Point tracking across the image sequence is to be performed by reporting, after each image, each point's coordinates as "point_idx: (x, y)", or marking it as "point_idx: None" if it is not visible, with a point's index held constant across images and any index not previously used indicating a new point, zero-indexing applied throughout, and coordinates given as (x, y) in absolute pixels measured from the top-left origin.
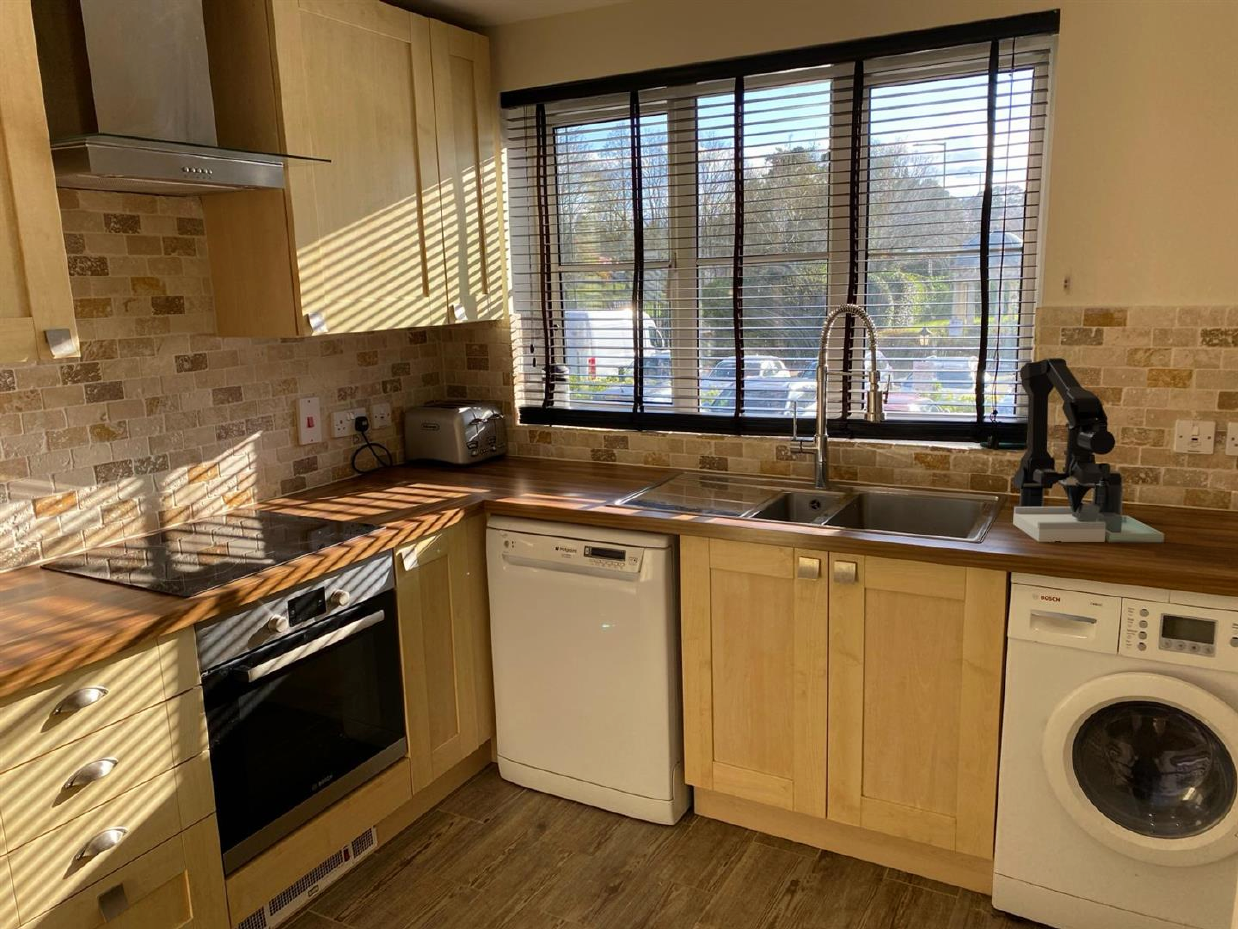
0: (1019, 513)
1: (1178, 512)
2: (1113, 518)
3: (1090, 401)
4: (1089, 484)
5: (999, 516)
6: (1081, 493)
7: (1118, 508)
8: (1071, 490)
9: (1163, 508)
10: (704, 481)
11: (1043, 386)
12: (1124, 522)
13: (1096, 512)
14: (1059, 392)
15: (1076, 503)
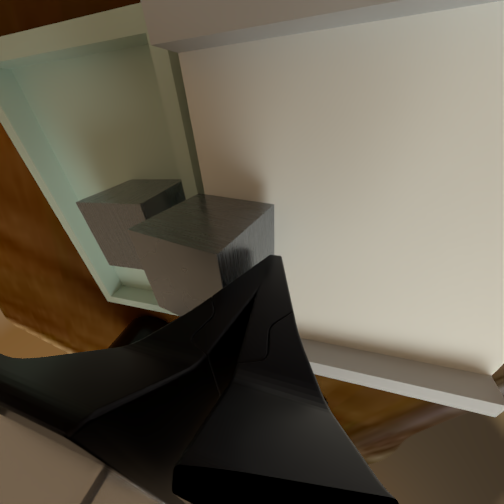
0: (469, 371)
1: (56, 326)
2: (114, 198)
3: None
4: (20, 445)
5: (423, 400)
6: (191, 343)
7: (120, 336)
8: (314, 416)
9: (78, 346)
10: None
11: None
12: (123, 283)
13: (165, 215)
14: None
15: (259, 285)
